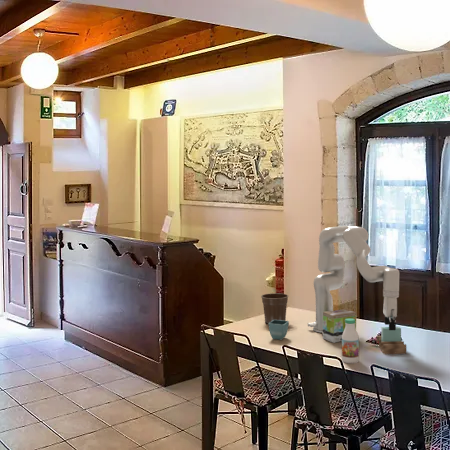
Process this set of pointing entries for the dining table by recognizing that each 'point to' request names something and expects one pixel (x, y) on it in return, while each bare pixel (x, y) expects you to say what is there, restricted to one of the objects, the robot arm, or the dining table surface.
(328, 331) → the tea box
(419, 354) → the dining table surface
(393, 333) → the mint green block
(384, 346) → the rack
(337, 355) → the dining table surface
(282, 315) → the plant pot
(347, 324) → the milk bottle
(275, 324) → the flower pot
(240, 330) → the dining table surface
